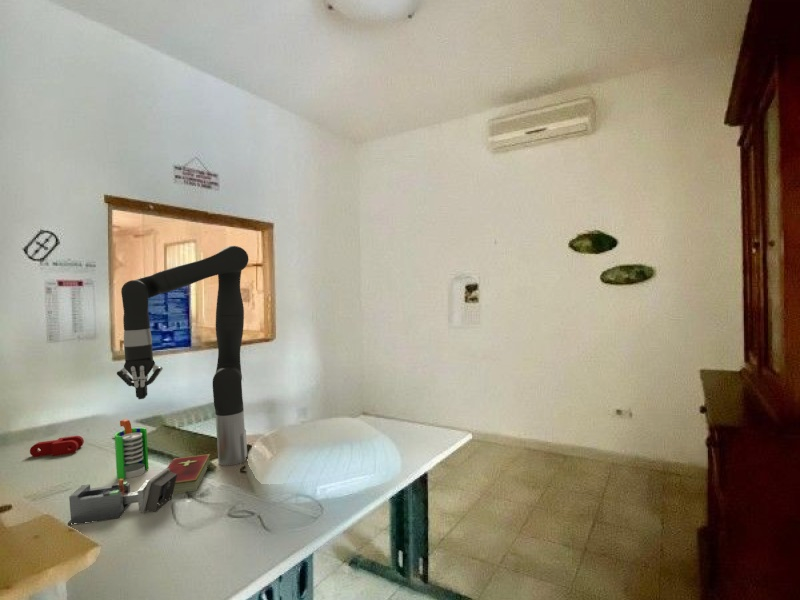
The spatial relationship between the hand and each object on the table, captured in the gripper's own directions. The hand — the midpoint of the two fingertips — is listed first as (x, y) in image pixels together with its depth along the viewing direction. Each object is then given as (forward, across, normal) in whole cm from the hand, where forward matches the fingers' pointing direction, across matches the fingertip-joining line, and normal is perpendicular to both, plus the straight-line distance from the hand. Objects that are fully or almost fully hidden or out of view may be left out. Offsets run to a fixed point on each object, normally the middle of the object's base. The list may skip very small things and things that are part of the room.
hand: (141, 398), depth 137 cm
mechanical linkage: (+27, +46, -42) cm, 68 cm away
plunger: (+27, +1, +17) cm, 32 cm away
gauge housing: (+27, +6, +17) cm, 32 cm away
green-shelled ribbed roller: (+27, +8, -10) cm, 30 cm away
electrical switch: (+27, -9, +18) cm, 34 cm away
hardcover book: (+28, -11, +1) cm, 30 cm away
